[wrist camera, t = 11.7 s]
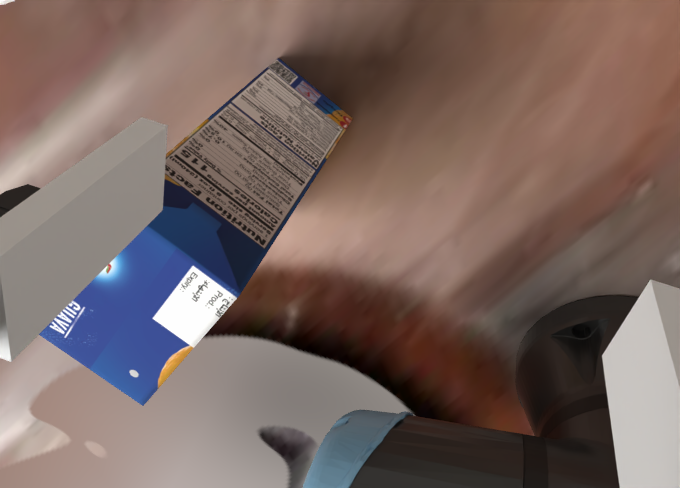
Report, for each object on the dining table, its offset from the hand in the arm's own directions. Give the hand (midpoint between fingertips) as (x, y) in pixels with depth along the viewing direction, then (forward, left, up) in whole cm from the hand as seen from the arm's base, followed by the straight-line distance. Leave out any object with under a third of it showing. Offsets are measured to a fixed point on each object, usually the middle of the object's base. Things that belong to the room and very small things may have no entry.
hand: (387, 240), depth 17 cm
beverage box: (-13, +11, -29) cm, 34 cm away
